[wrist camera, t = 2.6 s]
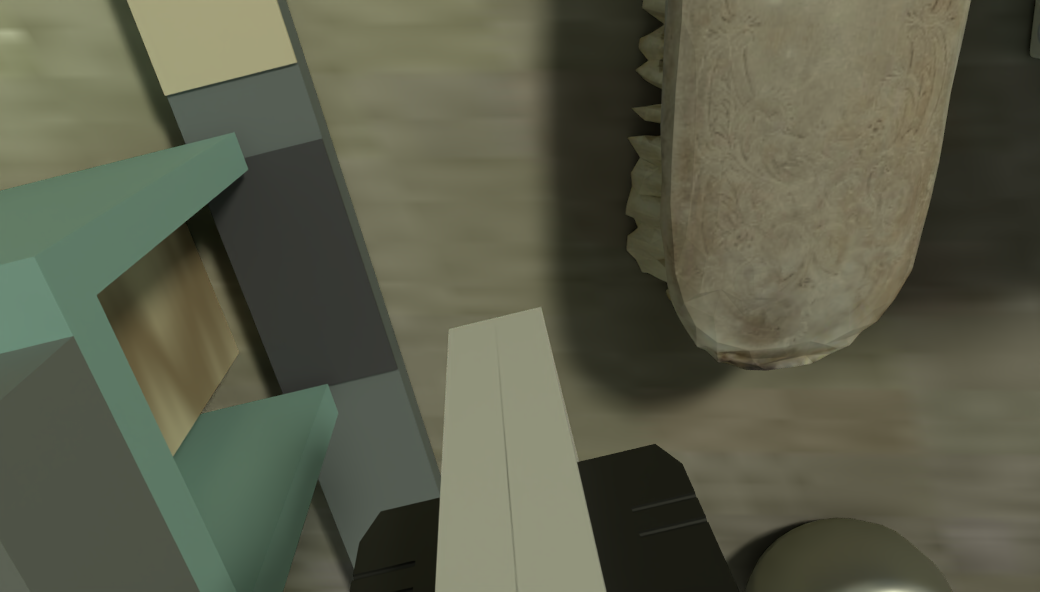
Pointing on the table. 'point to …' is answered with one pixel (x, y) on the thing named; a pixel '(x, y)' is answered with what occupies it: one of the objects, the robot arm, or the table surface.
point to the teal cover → (131, 405)
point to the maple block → (171, 332)
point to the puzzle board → (296, 243)
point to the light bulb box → (1036, 32)
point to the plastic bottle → (844, 561)
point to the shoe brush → (789, 165)
